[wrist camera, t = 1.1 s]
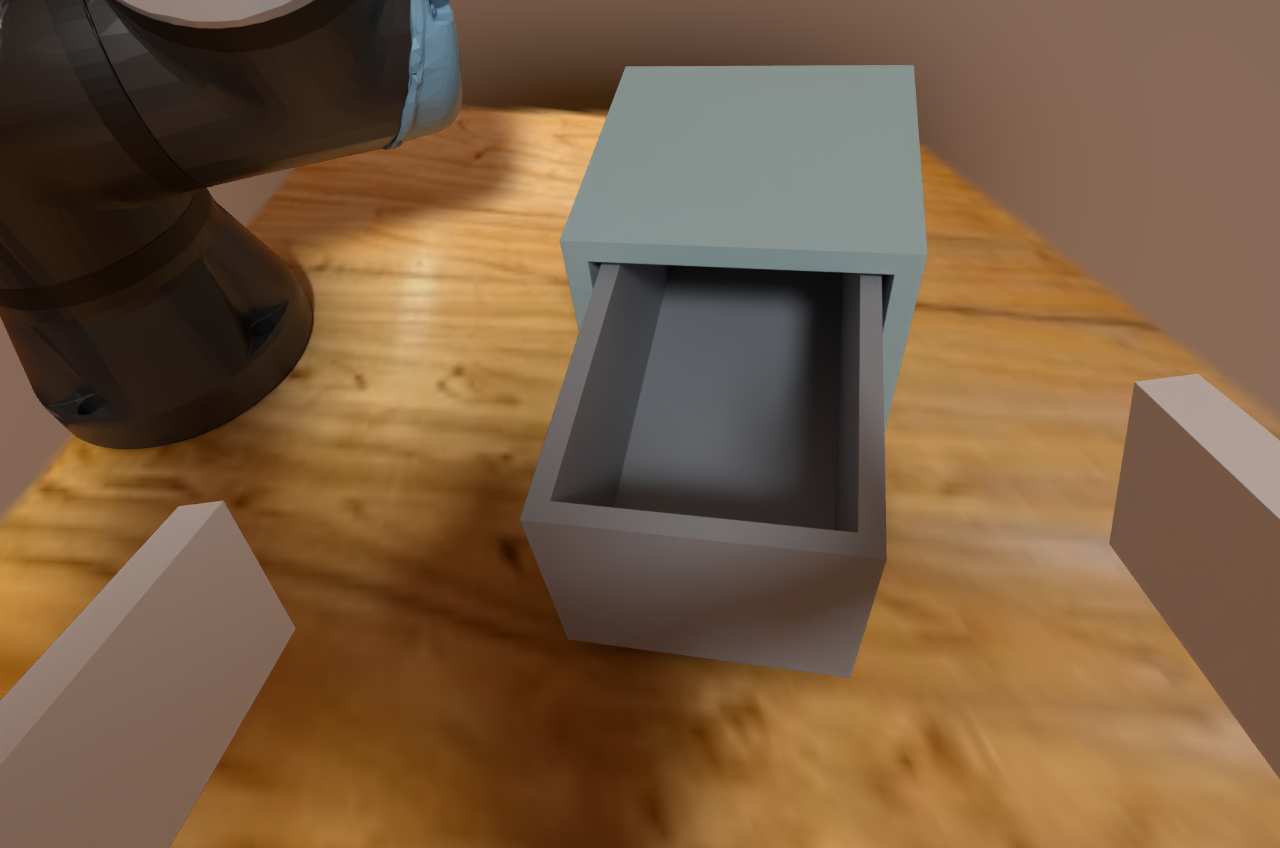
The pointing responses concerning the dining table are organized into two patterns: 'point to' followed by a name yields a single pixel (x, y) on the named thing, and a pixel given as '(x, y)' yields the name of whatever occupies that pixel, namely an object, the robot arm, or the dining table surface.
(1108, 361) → the dining table surface
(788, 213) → the sleeve
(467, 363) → the dining table surface
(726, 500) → the tray
